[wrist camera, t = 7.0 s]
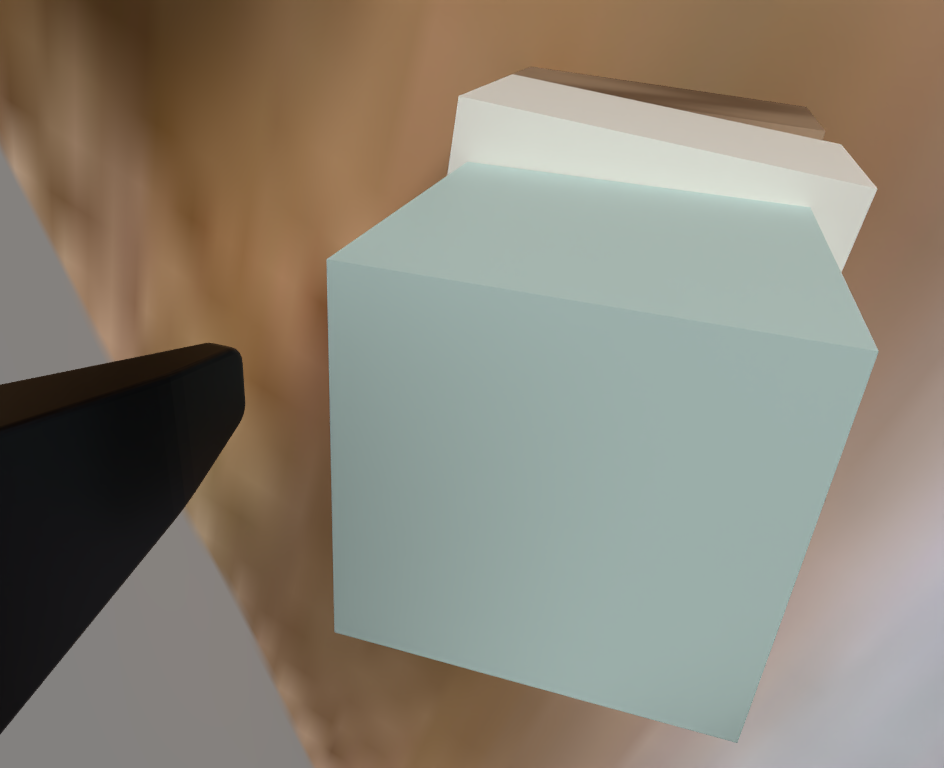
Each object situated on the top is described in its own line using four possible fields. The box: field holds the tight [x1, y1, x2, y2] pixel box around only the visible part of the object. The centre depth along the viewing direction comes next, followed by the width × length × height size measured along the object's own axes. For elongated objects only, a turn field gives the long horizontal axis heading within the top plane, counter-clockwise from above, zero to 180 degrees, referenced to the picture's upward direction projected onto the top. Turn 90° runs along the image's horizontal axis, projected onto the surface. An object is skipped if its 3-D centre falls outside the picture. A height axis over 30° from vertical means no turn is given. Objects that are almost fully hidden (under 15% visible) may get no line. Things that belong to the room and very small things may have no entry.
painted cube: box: [327, 162, 878, 743], centre depth 10 cm, size 5×5×5 cm
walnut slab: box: [496, 67, 825, 140], centre depth 17 cm, size 6×6×4 cm
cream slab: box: [447, 74, 877, 272], centre depth 14 cm, size 6×6×4 cm
